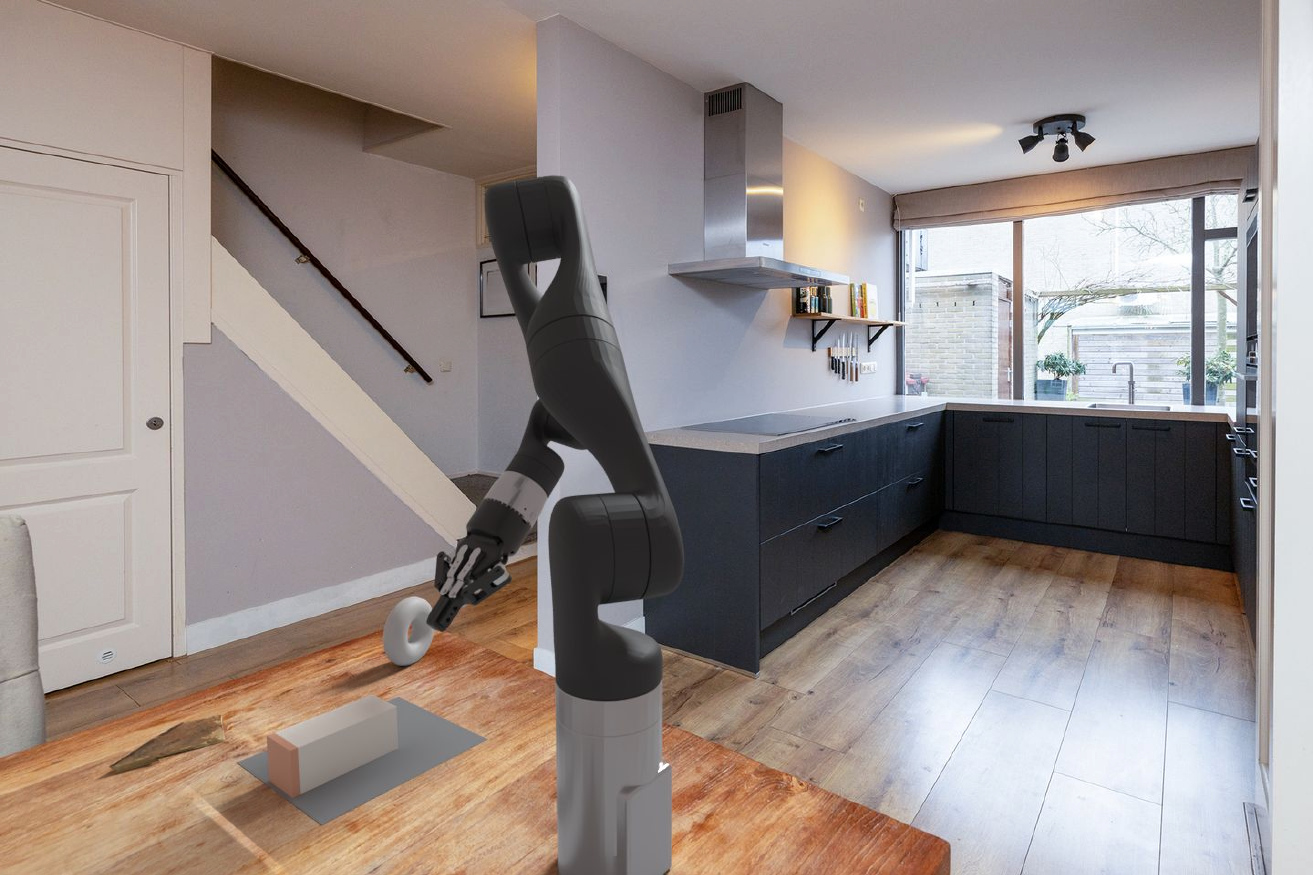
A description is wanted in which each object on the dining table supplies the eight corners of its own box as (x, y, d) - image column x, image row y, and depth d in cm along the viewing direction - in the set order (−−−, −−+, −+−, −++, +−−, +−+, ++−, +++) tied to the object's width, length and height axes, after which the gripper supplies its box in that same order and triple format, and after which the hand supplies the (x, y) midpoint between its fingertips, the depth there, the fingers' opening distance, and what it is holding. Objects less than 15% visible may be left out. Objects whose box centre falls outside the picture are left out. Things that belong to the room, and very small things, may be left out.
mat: (487, 743, 85) (487, 738, 85) (321, 829, 69) (321, 824, 69) (398, 700, 96) (398, 696, 96) (237, 766, 80) (236, 762, 80)
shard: (109, 779, 79) (108, 763, 78) (114, 748, 85) (112, 734, 85) (226, 749, 85) (225, 735, 84) (222, 723, 91) (221, 709, 91)
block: (396, 706, 82) (290, 750, 73) (398, 748, 83) (292, 797, 73) (371, 694, 85) (266, 735, 76) (373, 734, 86) (269, 780, 76)
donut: (398, 678, 102) (396, 610, 101) (378, 675, 103) (375, 607, 102) (440, 652, 112) (438, 589, 111) (421, 649, 113) (419, 586, 112)
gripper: (459, 491, 99) (382, 602, 91) (527, 502, 91) (449, 625, 83) (491, 522, 104) (420, 630, 95) (557, 535, 96) (487, 654, 88)
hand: (434, 627), depth 89 cm, fingers closed
